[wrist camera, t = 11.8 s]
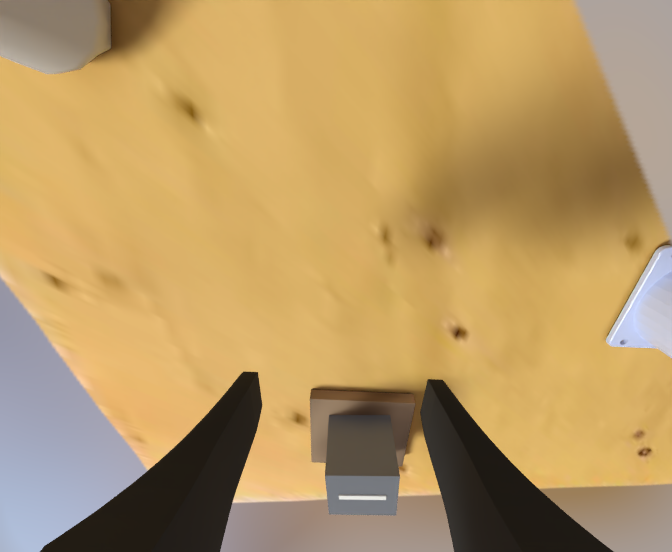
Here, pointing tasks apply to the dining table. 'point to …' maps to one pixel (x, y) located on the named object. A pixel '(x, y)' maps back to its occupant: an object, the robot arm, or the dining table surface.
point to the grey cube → (361, 465)
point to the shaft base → (359, 404)
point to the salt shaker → (54, 33)
